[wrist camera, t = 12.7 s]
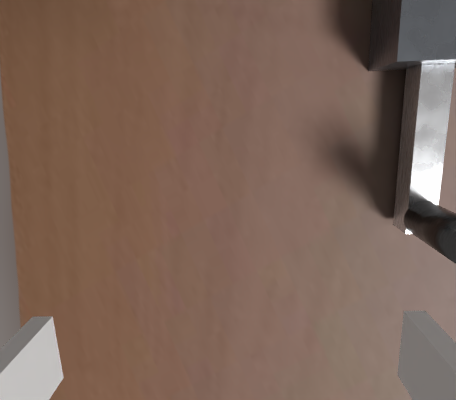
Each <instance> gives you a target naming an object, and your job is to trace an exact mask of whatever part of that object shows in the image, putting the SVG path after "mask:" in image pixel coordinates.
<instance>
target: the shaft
mask: <svg viewBox="0 0 456 400" xmlns="http://www.w3.org/2000/svg"><path fill="white" fill-rule="evenodd" d="M454 67H455V63H437V64H419V65H415V66H411V67H408V68H406V80H405V91H404V103H403V115H402V127H401V138H400V150H399V162H398V174H397V185H396V197H395V209H394V221H393V225H394V226H395V227H397V228H398V229H400V230H401V231H402V232H404V233H405V234H413V235H415V236H416V237H418V238H419V239H421V240H422V241H424V242H425V243H427V244H428V245H429V246H431V247H432V248H434V249H435V250H437V251H438V252H440V253H441V254H442V255H444V256H445V257H447V258H448V259H450V260H451V261H453V262H454V263H456V213H453V212H451V211H449V210H447V209H445V208H443V207H440V206H438V204H439V196H440V187H441V179H442V170H443V162H444V153H445V144H446V136H447V127H448V119H449V110H450V102H451V93H452V84H453V76H454Z"/></svg>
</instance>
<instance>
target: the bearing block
mask: <svg viewBox="0 0 456 400" xmlns="http://www.w3.org/2000/svg"><path fill="white" fill-rule="evenodd" d="M437 63H455V67H454V68H456V0H372V17H371V34H370V50H369V67H368V71H381V70H406V68H408V67H411V66H415V65H419V64H437Z"/></svg>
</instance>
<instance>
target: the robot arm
mask: <svg viewBox="0 0 456 400" xmlns="http://www.w3.org/2000/svg"><path fill="white" fill-rule="evenodd" d="M398 376H399V378H400V380H401V381H402V383H403V385H404V386H405V388H406V389H407V391H408V393H409V394H410V396H411V398H412V399H413V400H456V343H455V342H454V341H453V340H452V338H451V337H450V336H449V335H448V334H447V333H446V332H445V331H444V330H443V329H442V328H441V327H440V326H439V325H438V324H437V323H436V322H435V321H434V320H433V318H432V317H431V316H430V315H429V314H428V313H427V312H426V311H404V315H403V325H402V335H401V345H400V355H399V365H398ZM62 379H63V373H62V367H61V361H60V356H59V350H58V345H57V339H56V333H55V328H54V322H53V317H32V318H31V319H30V320H29V321H28V322H27V323H26V324H25V325H24V326H23V327H22V328H21V329H20V330H19V331H18V332H17V333H16V334H15V335H14V336H13V337H12V338H11V339H10V340H9V341H8V342H7V343H6V344H5V345H4V346H3V347H2V348H1V349H0V400H49V399H50V397H51V396H52V394H53V393H54V391H55V390H56V388H57V387H58V385H59V384H60V382H61V381H62Z"/></svg>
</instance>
